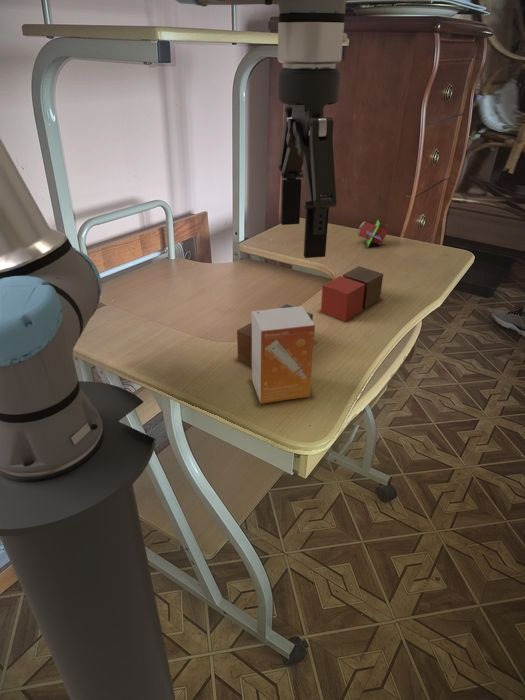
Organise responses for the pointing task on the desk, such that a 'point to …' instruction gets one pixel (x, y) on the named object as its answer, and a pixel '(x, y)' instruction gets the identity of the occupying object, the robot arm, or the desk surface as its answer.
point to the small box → (282, 353)
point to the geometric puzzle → (372, 232)
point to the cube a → (245, 344)
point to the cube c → (342, 298)
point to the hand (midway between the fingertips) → (301, 239)
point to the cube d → (367, 283)
